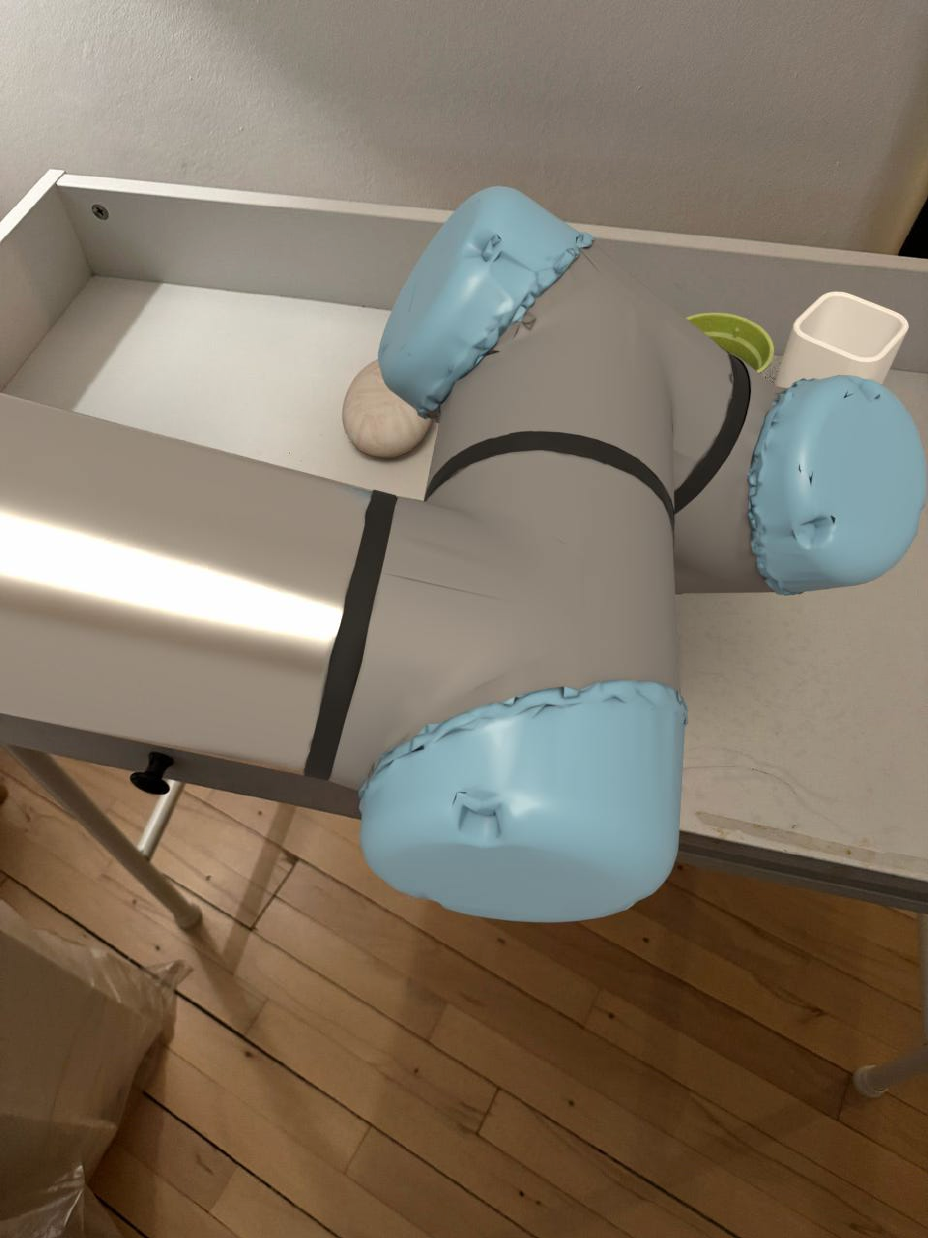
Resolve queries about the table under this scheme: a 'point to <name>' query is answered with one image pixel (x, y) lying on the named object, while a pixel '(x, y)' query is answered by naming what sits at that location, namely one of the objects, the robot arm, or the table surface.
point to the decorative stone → (380, 416)
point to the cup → (842, 340)
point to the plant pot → (737, 337)
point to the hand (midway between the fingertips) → (415, 553)
